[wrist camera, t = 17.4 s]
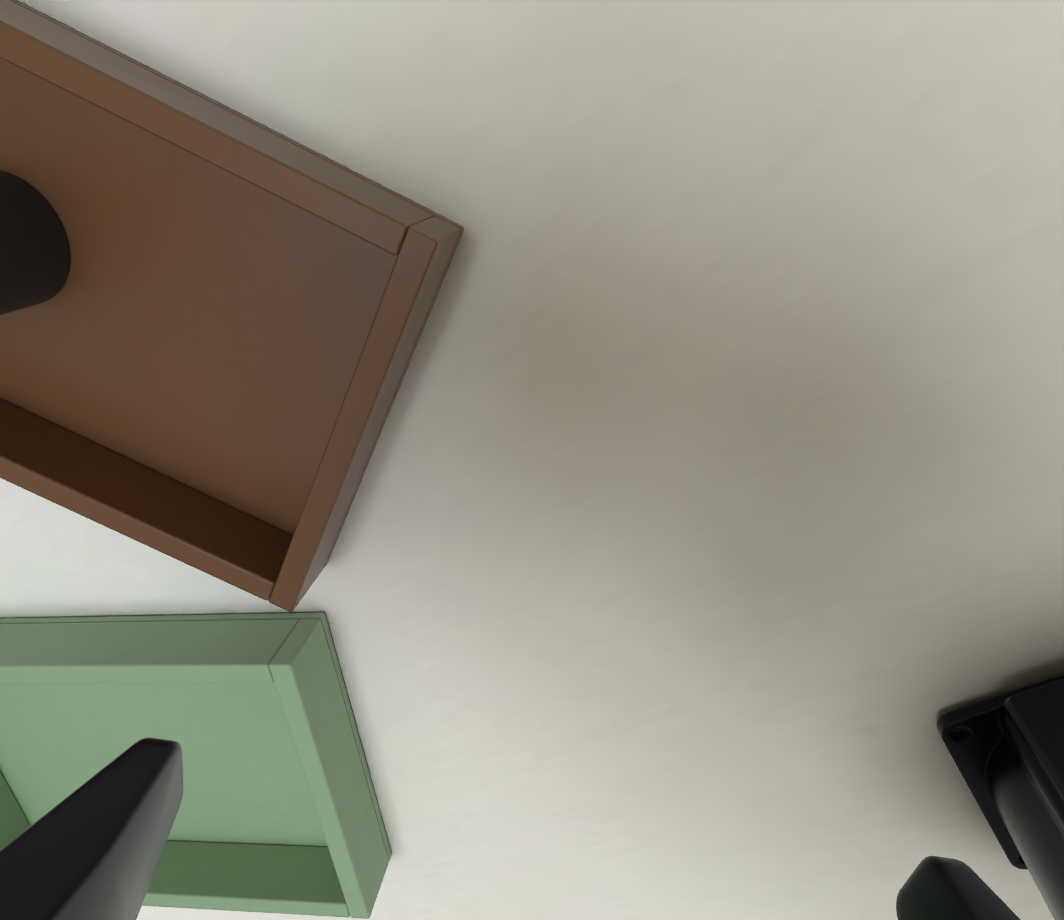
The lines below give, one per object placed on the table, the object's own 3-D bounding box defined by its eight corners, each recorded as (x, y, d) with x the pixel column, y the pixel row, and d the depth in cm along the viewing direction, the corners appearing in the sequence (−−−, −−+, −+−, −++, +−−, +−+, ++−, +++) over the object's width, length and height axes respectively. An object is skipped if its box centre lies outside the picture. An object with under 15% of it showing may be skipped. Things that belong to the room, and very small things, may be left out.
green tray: (324, 611, 23) (290, 664, 21) (391, 854, 27) (369, 919, 25) (-88, 619, 26) (-158, 667, 23) (33, 839, 30) (-17, 897, 28)
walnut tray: (464, 227, 17) (438, 242, 15) (327, 563, 22) (291, 613, 20) (-152, -86, 16) (-278, -120, 14) (-161, 335, 21) (-257, 360, 19)
